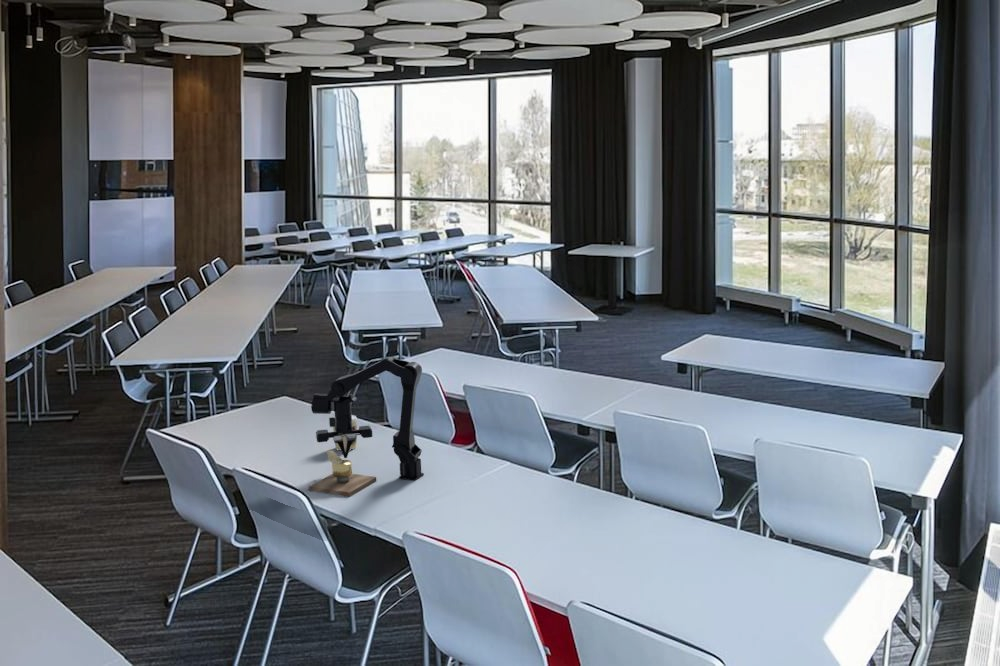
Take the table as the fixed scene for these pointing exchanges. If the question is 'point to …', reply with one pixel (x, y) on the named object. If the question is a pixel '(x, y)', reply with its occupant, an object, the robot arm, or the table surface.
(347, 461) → the beige elongated piece
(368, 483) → the base
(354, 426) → the coffee cup
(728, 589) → the table surface
